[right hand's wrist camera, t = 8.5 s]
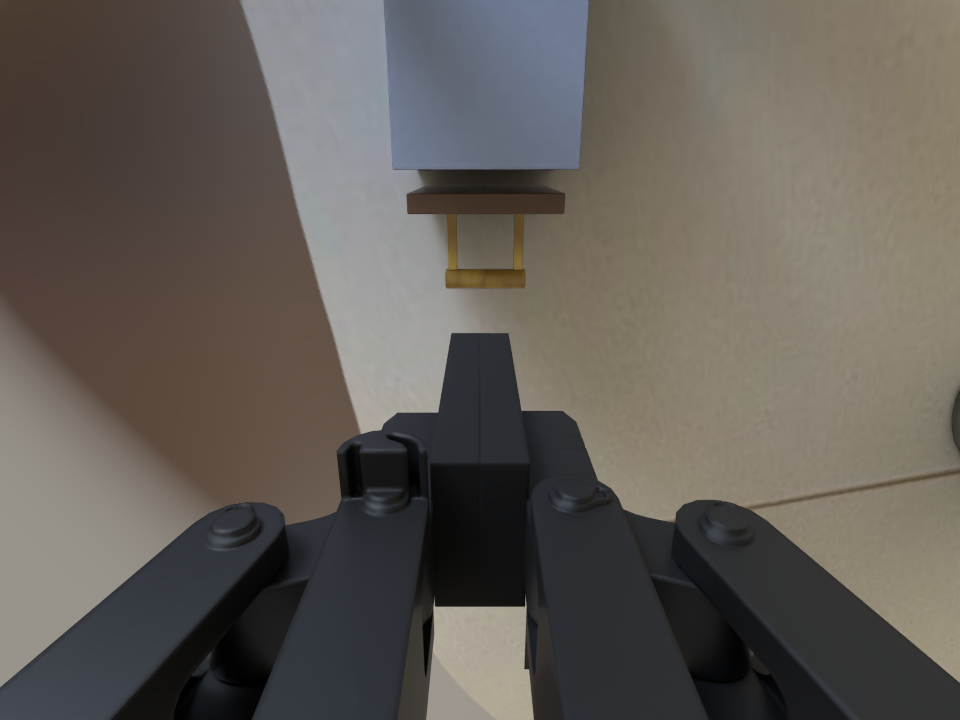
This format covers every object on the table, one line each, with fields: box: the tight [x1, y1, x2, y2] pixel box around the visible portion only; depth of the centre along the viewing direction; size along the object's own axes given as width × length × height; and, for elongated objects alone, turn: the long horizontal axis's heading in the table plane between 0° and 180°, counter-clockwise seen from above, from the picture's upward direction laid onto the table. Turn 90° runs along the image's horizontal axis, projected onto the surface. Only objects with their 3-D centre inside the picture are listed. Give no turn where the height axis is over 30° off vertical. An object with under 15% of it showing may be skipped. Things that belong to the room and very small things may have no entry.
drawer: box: [407, 169, 565, 288], centre depth 35 cm, size 24×10×10 cm, turn 0°
